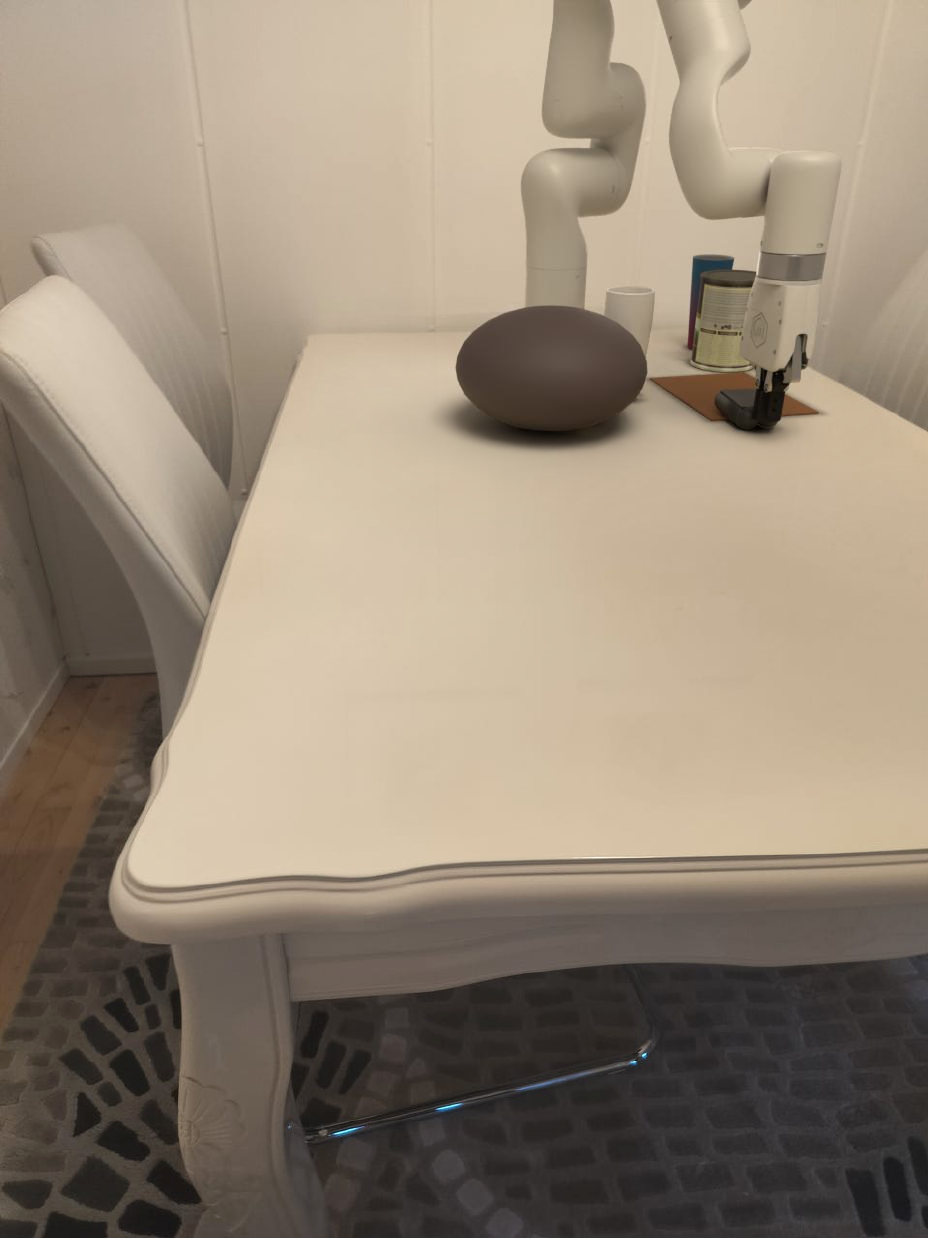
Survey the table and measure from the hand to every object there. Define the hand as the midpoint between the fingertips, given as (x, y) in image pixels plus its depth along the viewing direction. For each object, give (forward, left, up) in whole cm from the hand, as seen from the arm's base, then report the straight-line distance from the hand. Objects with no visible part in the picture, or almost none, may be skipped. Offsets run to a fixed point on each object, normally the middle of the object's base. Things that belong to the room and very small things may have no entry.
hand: (766, 420), depth 114 cm
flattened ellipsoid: (-26, +10, -2) cm, 28 cm away
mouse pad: (+4, +18, -2) cm, 18 cm away
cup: (+13, +47, -2) cm, 49 cm away
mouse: (0, +6, -2) cm, 6 cm away
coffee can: (+11, +35, -2) cm, 36 cm away
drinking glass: (-12, +20, -2) cm, 23 cm away
